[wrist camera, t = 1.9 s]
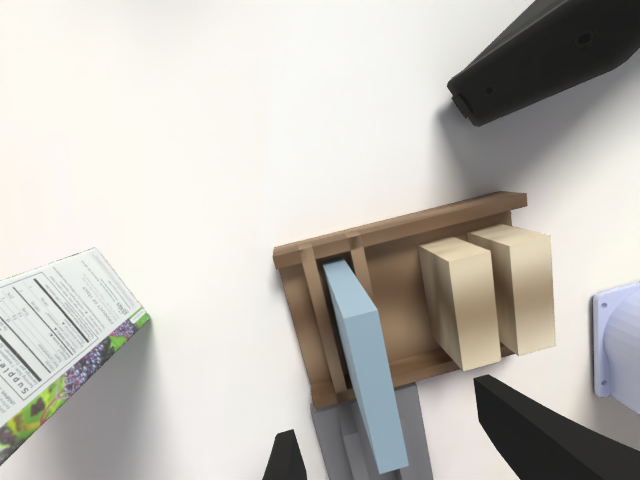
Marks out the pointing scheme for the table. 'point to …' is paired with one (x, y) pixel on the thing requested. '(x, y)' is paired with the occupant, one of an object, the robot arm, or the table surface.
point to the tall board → (366, 364)
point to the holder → (354, 446)
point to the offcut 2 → (520, 285)
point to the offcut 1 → (461, 300)
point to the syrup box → (57, 337)
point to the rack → (380, 290)
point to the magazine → (546, 55)
